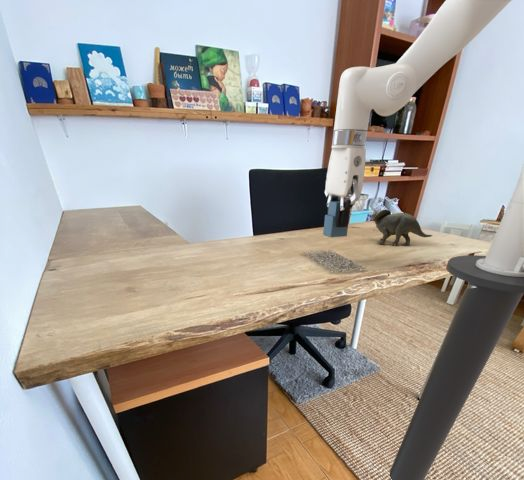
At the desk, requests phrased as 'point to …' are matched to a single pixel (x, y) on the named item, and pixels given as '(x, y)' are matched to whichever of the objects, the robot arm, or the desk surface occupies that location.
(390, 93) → the robot arm
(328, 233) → the slate gray tower
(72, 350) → the desk surface
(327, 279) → the desk surface
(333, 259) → the rug
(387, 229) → the toy dinosaur
